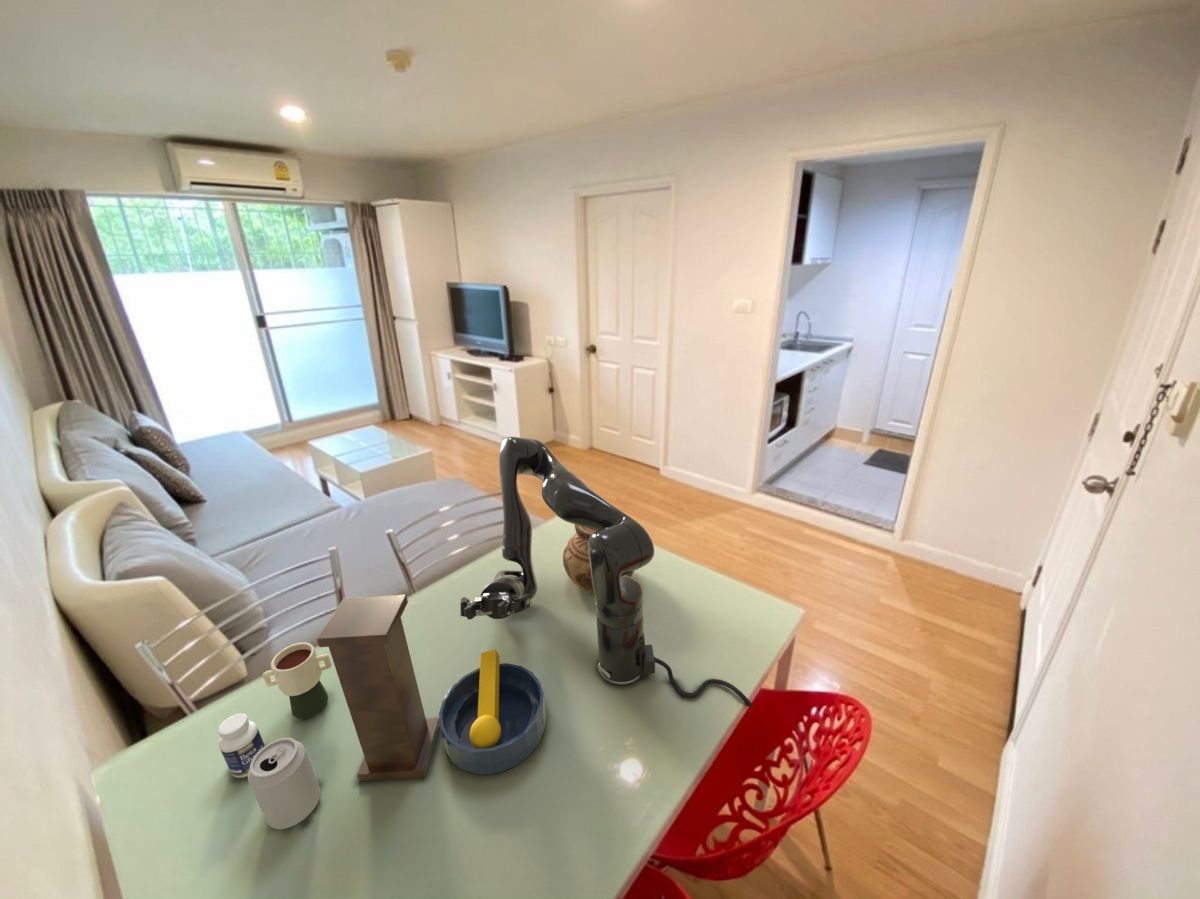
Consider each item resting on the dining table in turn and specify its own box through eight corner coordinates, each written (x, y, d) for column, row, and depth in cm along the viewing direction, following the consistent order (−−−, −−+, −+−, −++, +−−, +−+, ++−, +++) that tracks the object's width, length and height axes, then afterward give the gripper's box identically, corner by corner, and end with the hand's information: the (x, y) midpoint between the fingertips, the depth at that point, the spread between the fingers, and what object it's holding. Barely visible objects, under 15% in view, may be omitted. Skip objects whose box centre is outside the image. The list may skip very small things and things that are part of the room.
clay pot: (649, 593, 118) (615, 528, 111) (579, 618, 121) (542, 557, 114) (643, 547, 136) (614, 489, 129) (583, 570, 139) (550, 515, 132)
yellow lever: (505, 654, 97) (497, 640, 93) (504, 751, 83) (495, 739, 80) (479, 660, 96) (470, 646, 93) (474, 758, 83) (464, 746, 79)
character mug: (343, 683, 101) (327, 634, 96) (341, 711, 95) (323, 659, 90) (282, 703, 97) (262, 652, 92) (276, 732, 91) (254, 680, 86)
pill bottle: (250, 781, 82) (231, 740, 79) (223, 776, 84) (204, 735, 80) (276, 751, 87) (259, 711, 84) (250, 746, 88) (233, 707, 85)
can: (257, 822, 76) (232, 770, 72) (300, 777, 83) (279, 726, 78) (290, 841, 74) (267, 788, 69) (332, 793, 80) (313, 741, 76)
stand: (440, 723, 91) (410, 592, 80) (425, 777, 82) (388, 637, 71) (381, 727, 91) (342, 596, 80) (358, 781, 82) (310, 641, 70)
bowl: (548, 683, 99) (546, 660, 96) (542, 772, 82) (539, 747, 80) (457, 689, 98) (453, 666, 96) (432, 780, 81) (426, 755, 79)
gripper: (467, 580, 103) (443, 592, 86) (536, 576, 103) (525, 588, 86) (468, 617, 102) (443, 637, 85) (537, 613, 102) (526, 632, 85)
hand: (484, 612), depth 86 cm, fingers open, 4 cm apart
